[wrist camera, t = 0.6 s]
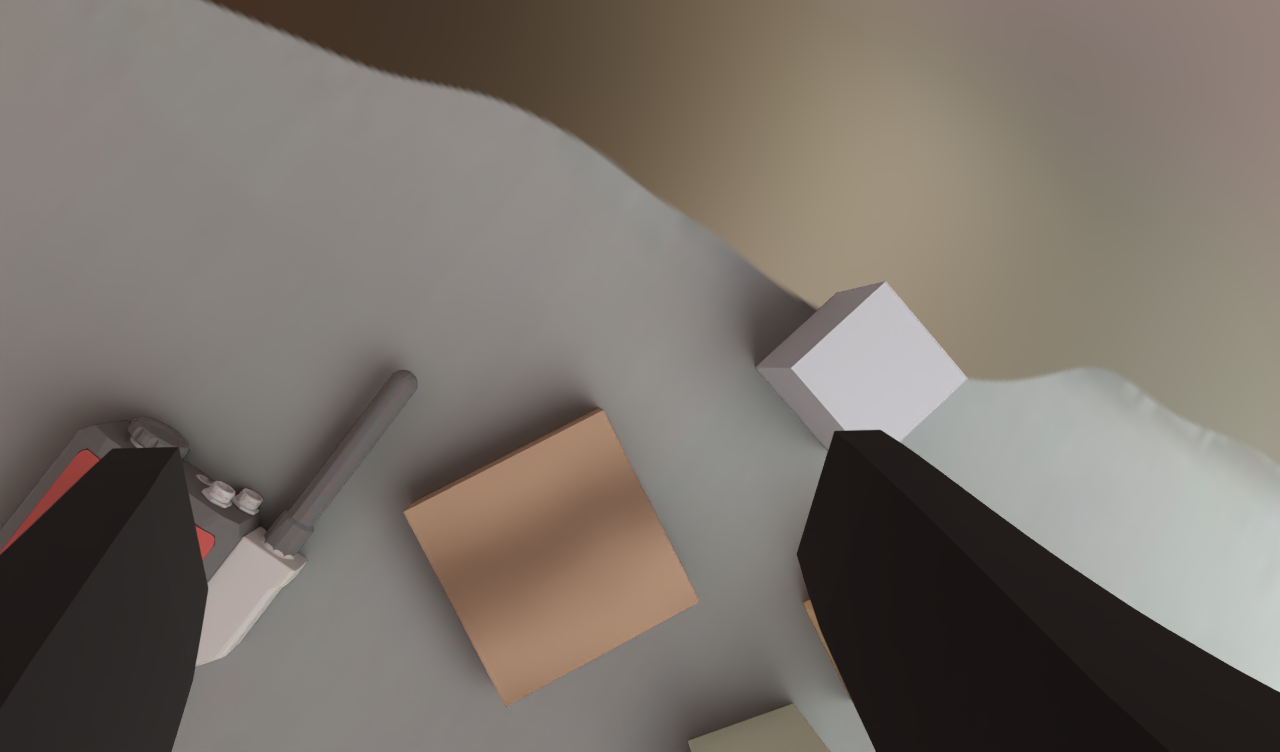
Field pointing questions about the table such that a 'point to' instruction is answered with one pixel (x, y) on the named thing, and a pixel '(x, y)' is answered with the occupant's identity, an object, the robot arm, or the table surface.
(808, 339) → the slate block
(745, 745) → the sage block
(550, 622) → the tan flat block
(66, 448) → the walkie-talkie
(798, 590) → the table surface
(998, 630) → the robot arm
